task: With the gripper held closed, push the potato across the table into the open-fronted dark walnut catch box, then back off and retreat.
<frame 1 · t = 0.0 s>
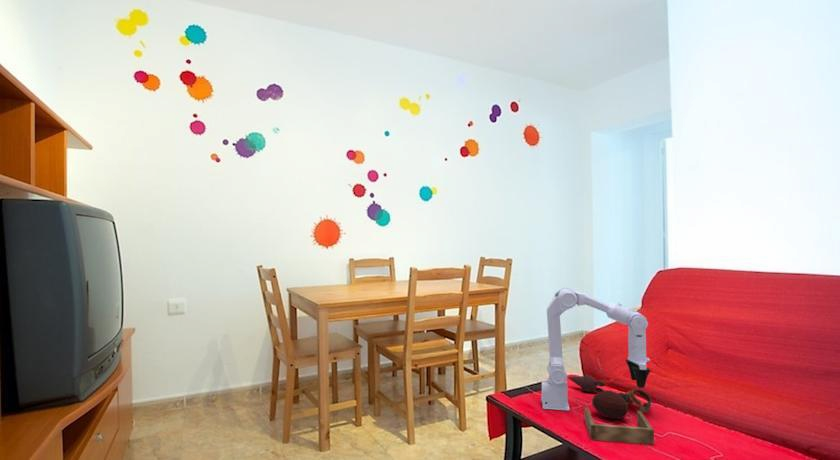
hand: (637, 383, 156), 10 cm above the table, fingers open, 7 cm apart
brown looped piece: (632, 410, 158), on the table
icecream: (586, 391, 176), on the table
potato: (610, 418, 151), on the table
catch box: (617, 431, 140), on the table
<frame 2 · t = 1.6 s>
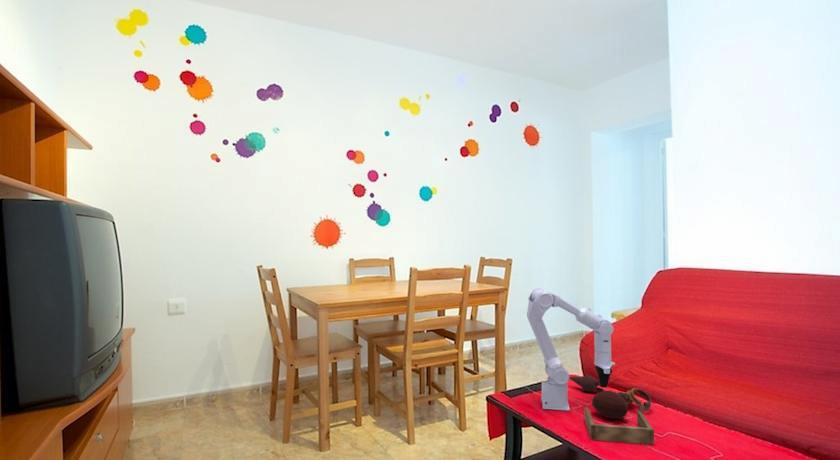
hand: (603, 386, 162), 7 cm above the table, fingers closed
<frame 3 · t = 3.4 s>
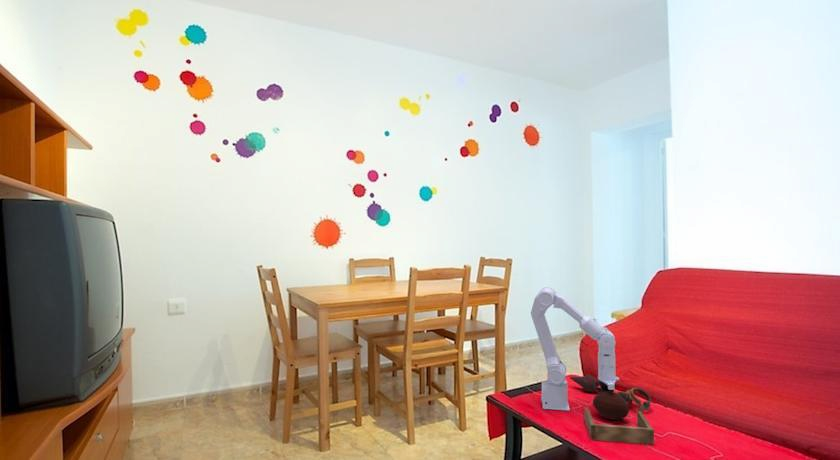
hand: (607, 402, 155), 3 cm above the table, fingers closed, pressing on potato
potato: (610, 418, 150), on the table, touching gripper
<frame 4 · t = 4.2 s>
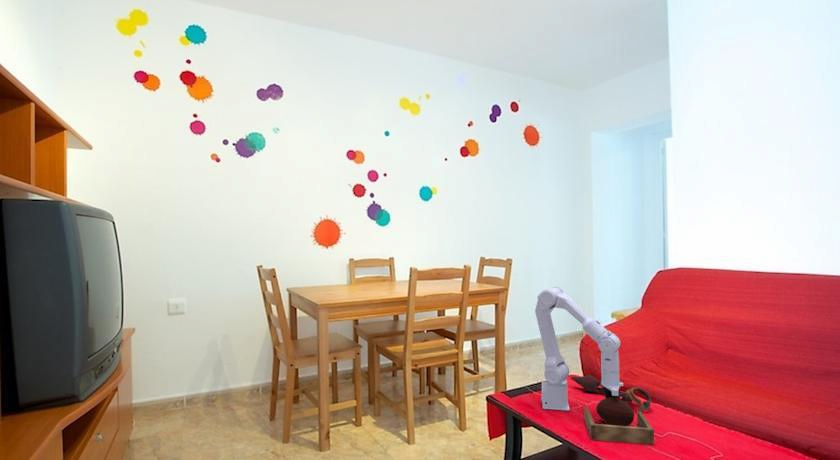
hand: (611, 409, 150), 4 cm above the table, fingers closed, pressing on potato
potato: (615, 425, 145), on the table, touching gripper
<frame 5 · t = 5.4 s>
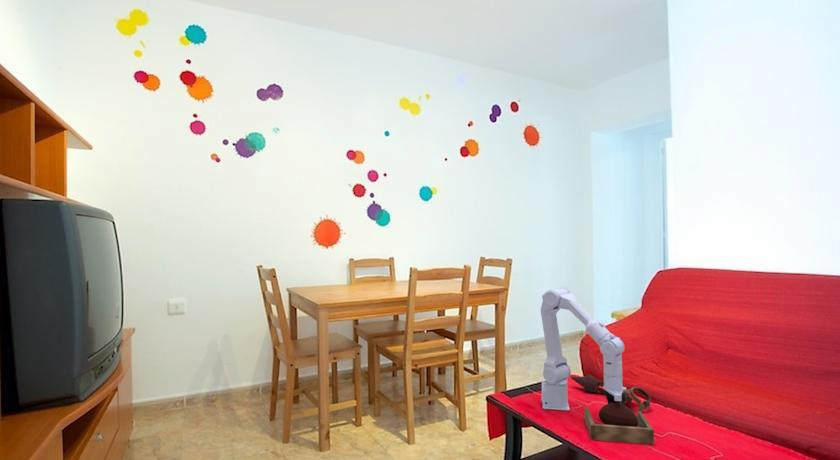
hand: (613, 414, 145), 3 cm above the table, fingers closed, pressing on potato
potato: (618, 432, 141), on the table, touching gripper
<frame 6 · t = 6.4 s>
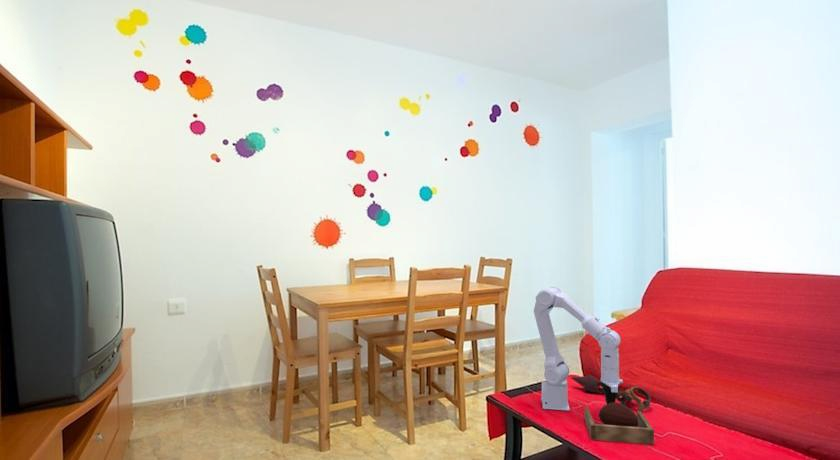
hand: (610, 405, 150), 5 cm above the table, fingers closed
potato: (618, 432, 141), on the table
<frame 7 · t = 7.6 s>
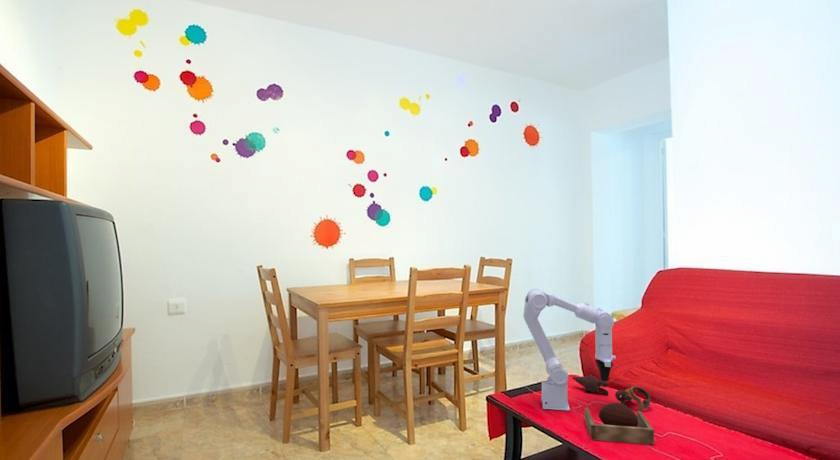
hand: (604, 380, 160), 10 cm above the table, fingers closed
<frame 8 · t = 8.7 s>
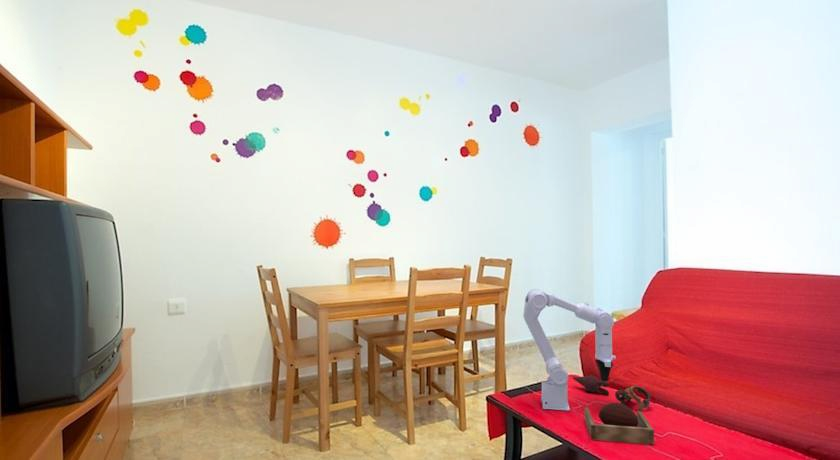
hand: (604, 380, 160), 10 cm above the table, fingers closed
at the end: potato inside the target area (0.4 cm from its centre), on the table; potato moved 10.8 cm from its start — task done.
